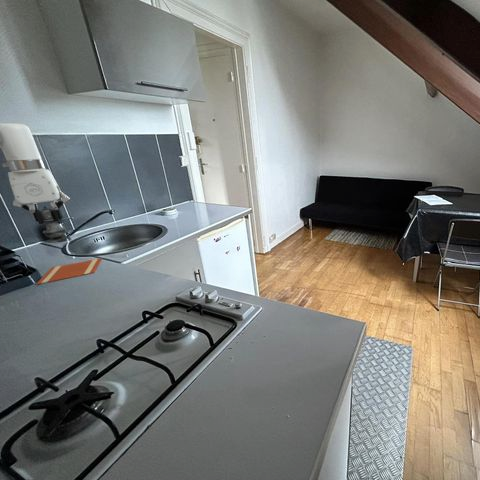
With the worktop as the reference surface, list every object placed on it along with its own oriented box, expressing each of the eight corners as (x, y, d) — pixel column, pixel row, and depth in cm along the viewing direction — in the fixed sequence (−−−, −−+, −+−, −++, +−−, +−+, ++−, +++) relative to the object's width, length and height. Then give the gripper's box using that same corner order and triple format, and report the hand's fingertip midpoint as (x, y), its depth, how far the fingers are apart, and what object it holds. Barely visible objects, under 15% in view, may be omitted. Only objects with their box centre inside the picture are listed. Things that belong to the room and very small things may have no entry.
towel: (36, 284, 86) (36, 283, 85) (51, 268, 97) (51, 267, 97) (94, 273, 92) (93, 271, 92) (102, 259, 104) (101, 258, 104)
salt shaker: (58, 242, 88) (44, 207, 84) (41, 243, 88) (26, 208, 84) (74, 236, 93) (61, 203, 89) (58, 237, 93) (44, 204, 89)
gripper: (-18, 169, 75) (11, 229, 82) (58, 164, 82) (79, 220, 89) (-4, 167, 81) (22, 223, 88) (65, 163, 89) (85, 215, 95)
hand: (50, 221), depth 88 cm, fingers closed on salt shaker, 3 cm apart
